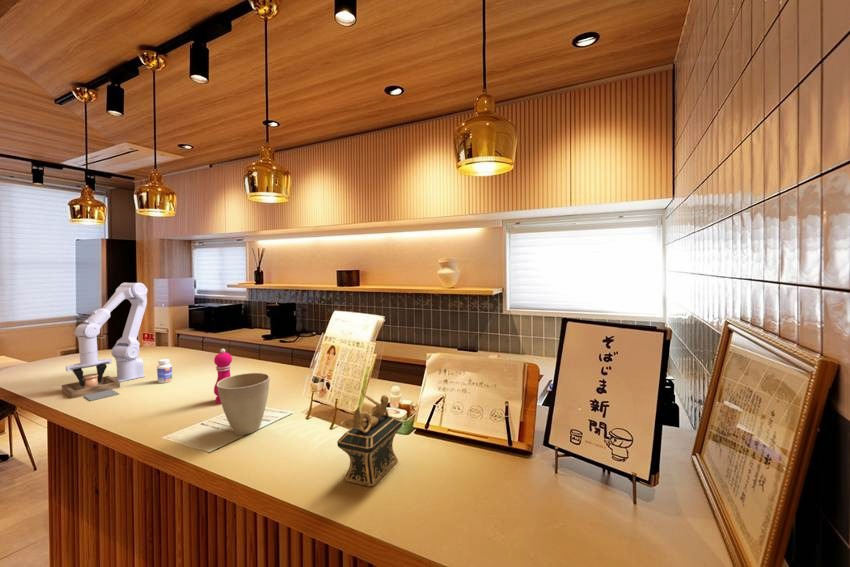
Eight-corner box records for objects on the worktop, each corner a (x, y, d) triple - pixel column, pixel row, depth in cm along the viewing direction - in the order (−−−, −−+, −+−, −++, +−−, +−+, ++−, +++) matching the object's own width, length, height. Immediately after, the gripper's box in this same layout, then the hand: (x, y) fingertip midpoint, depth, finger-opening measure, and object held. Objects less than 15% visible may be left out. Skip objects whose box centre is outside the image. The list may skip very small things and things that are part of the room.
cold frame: (108, 381, 172) (107, 375, 172) (120, 387, 163) (119, 381, 163) (62, 391, 160) (61, 385, 160) (71, 398, 151) (71, 392, 151)
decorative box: (372, 450, 105) (371, 380, 104) (404, 457, 102) (402, 384, 100) (326, 491, 87) (324, 406, 86) (363, 501, 83) (360, 413, 82)
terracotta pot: (97, 386, 165) (96, 372, 165) (101, 388, 162) (100, 374, 162) (81, 389, 161) (80, 375, 161) (85, 392, 158) (84, 377, 158)
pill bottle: (167, 383, 168) (165, 361, 167) (154, 383, 168) (153, 361, 167) (175, 379, 173) (174, 358, 173) (163, 379, 173) (162, 358, 173)
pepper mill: (240, 398, 147) (237, 347, 146) (223, 405, 141) (220, 351, 139) (227, 396, 150) (224, 345, 149) (210, 402, 144) (207, 350, 142)
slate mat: (111, 390, 160) (111, 389, 160) (119, 394, 155) (119, 393, 155) (83, 396, 153) (83, 395, 153) (90, 401, 147) (90, 400, 147)
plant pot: (235, 420, 128) (233, 372, 127) (279, 419, 127) (277, 372, 126) (208, 441, 113) (205, 388, 112) (258, 441, 112) (256, 387, 111)
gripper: (107, 347, 169) (109, 378, 170) (62, 354, 157) (65, 387, 158) (112, 349, 165) (114, 380, 165) (67, 356, 153) (69, 390, 154)
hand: (90, 384), depth 161 cm, fingers closed on terracotta pot, 5 cm apart
